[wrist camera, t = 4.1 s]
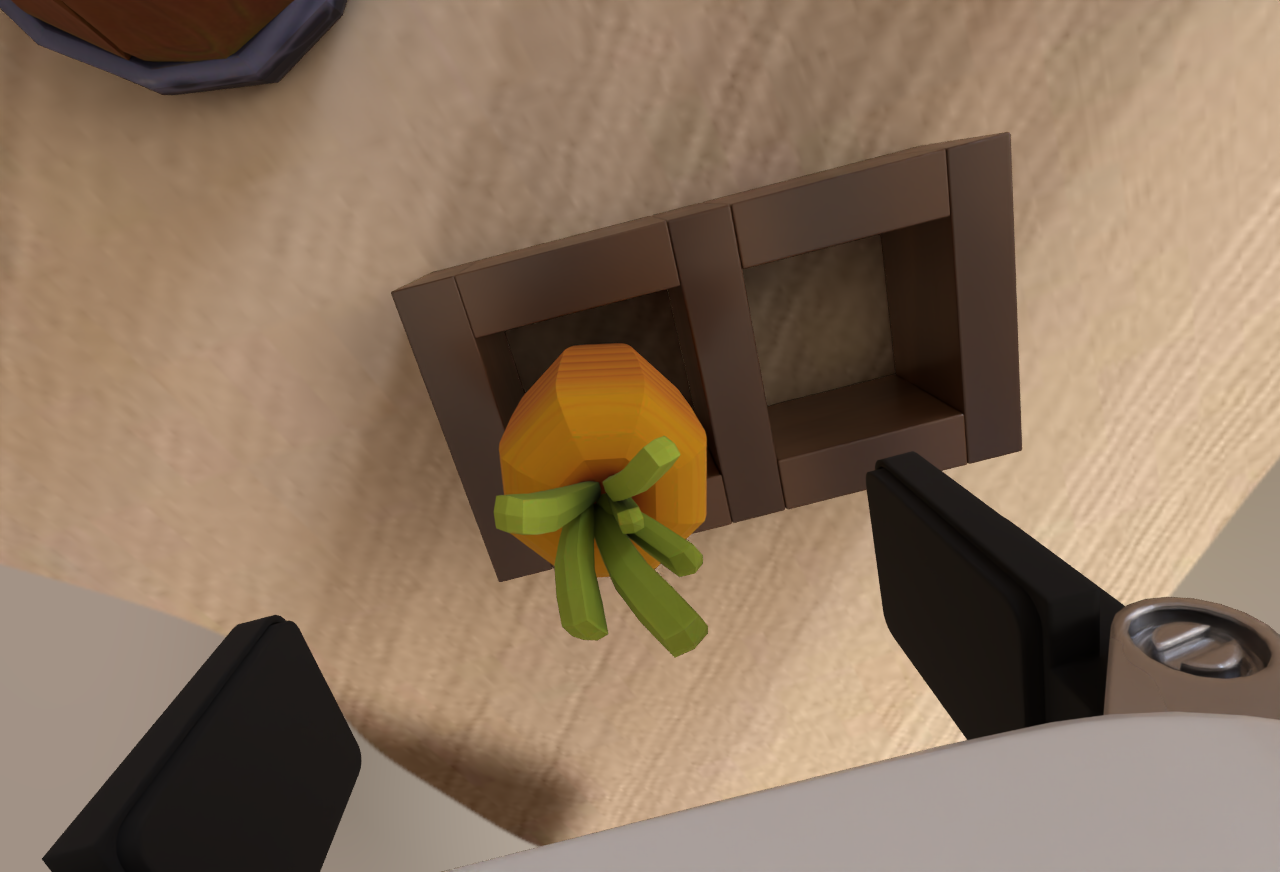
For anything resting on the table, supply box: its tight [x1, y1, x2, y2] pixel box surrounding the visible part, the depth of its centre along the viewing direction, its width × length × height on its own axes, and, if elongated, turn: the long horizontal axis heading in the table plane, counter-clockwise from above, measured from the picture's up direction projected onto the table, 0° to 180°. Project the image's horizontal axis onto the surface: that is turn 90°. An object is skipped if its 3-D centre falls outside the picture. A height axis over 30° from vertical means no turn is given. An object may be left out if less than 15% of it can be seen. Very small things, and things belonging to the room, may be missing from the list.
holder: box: [391, 132, 1022, 582], centre depth 22 cm, size 17×10×5 cm, turn 104°
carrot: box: [494, 343, 708, 657], centre depth 17 cm, size 5×5×15 cm
